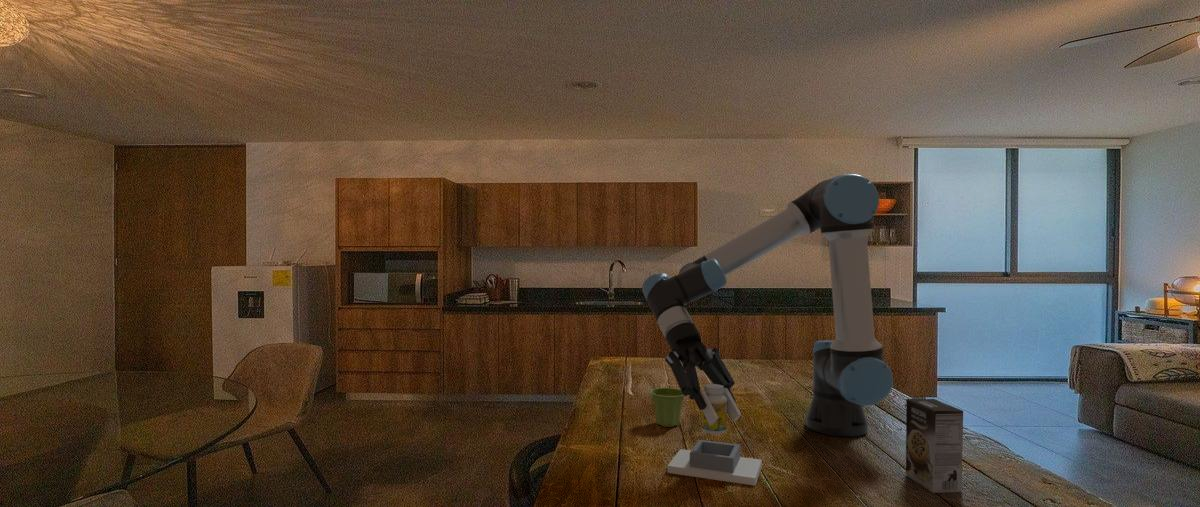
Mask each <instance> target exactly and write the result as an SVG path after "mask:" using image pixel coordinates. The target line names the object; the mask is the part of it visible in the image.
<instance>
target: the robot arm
mask: <svg viewBox="0 0 1200 507" xmlns="http://www.w3.org/2000/svg"><path fill="white" fill-rule="evenodd" d="M879 203H880V195H879V192H878V190H877V187H876V186H875V185H874V183H873V182H872V181H870V180H869V178H867V177H865V176H863V175H859V174H855V173H847V174H845V173H844V174H840V175H836V176H834V177H832V178H829V179H825V180H822V181H821V182H819V183H817V184H816V185H815V184H814V186H812V187H811V188H809V189H808V190H807V191H806V192H804V193H803V194H801V195H799V196H798V197H797V198H795V199H794V200H792V201H790V202H789V203H787V206H786V209H784V210H782V211H780V212H779V213H777V214H775V215H773V216H771V217H769V218H768V219H766V220H764V221H763V222H761V223H759V224H757V225H755V226H754V227H752V228H750V229H748V230H747V231H745V232H743V233H741V234H740V235H738V236H736V237H734V238H733V239H731V240H729V241H727V242H725V243H724V244H722V245H720V246H718V247H717V248H715V249H713V250H711V251H710V252H707V253H706V254H704V255H703V256H702V257H701V256H700V257H698V258H697V259H696V260H694V261H693V262H688V263H686V264H684V265H682V267H681V268H680V269H679V272H678V274H675V275H673V276H671V277H670V276H669V275H668V274H667V273H664V272H659V273H654V274H651V275H649V276H648V277H647V278H645V280H644V281H643V283H642V288H641V290H642V293H643V296H644V298H645V300H646V303H647V304H648V307H649V309H650V310H651V313H652V315H653V317H654V319H655V320H656V322H657V324H658V327H659V329H660V330H661V333H662V334H663V336H664V338H665V341H666V342H667V344H668V346H669V349H670V351H669V352H668V354H667V356H666V357H665V358H664V361H665V362H666V364H668V366H669V367H670V368H671V371H672V373H673V376H674V378H675V380H676V382H677V384H678V387H679V389H680V390H681V391H682V394H683V395H684V397H687V396H689V397H688V398H689V399H690V400H694V403H695V404H696V406H697V408H698V410H700V411H701V412H702V411H703V413H704V415H705V417H706V419H707V421H708V423H709V425H713V424H714V423H715V422H716V421H717V420H718V416H717V414H716V412H715V410H714V408H713V406H712V404H711V402H710V400H709V398H708V396H707V394H706V392H705V391H704V390H702V391H701V386H700V381H699V376H698V373H697V368H698V370H699V371H703V373H704V374H705V375H706V376H707V378H709V380H710V382H712V383H711V384H718V385H722V386H724V393H723V394H722V395H724V396H725V397H726V398H727V415H729V417H730V420H731V421H732V422H733V423H734V422H736V421H737V420H738V419H739V418H740V417H741V416H742V413H741V411H740V409H739V407H738V404H736V402H737V401H736V398H735V396H734V394H733V392H732V390H731V388H732V387H733V386H734V385H735V384H736V382H735V380H734V379H733V377H732V375H731V373H730V372H729V370H728V368H727V367H726V365H725V364H724V362H723V360H722V358H721V356H720V354H719V349H718V347H713V348H712V349H711V348H707V347H706V345H705V344H704V343H703V342H702V336H701V333H700V332H699V329H698V328H697V326H696V324H694V321H693V319H692V317H691V315H690V313H689V311H688V310H687V309H686V305H690V303H692V302H695V301H696V300H699V299H702V298H704V297H706V296H708V295H710V294H711V293H715V292H717V291H718V290H720V289H721V288H724V287H725V286H726V285H727V276H729V275H731V274H732V273H734V272H736V271H737V270H740V269H741V268H743V267H744V266H747V265H748V264H750V263H752V262H754V261H756V260H758V259H759V258H761V257H763V256H764V255H766V254H768V253H769V252H770V253H771V251H774V250H775V249H777V248H779V247H780V246H782V245H784V244H786V243H788V242H789V241H791V240H793V239H795V238H797V237H799V236H801V235H805V236H808V235H810V234H812V233H813V232H815V231H818V230H820V235H822V236H823V237H824V238H825V239H826V240H827V243H828V254H829V255H828V256H829V266H830V267H829V268H830V270H829V271H830V280H831V292H832V293H831V294H832V304H833V318H834V319H833V320H834V332H835V339H834V340H817V341H815V342H814V343H813V349H812V350H813V351H812V399H811V401H810V405H809V407H808V410H807V413H806V414H805V415H806V416H805V426H806V428H808V429H810V431H813V432H816V433H818V434H819V433H820V434H824V435H829V436H834V437H846V438H848V437H849V438H852V437H860V436H861V437H862V436H863V435H867V433H868V432H869V422H868V419H867V416H866V414H865V412H866V411H865V410H864V408H863V407H867V406H869V407H870V406H874V405H877V404H879V403H881V402H883V401H884V399H886V398H887V397H888V395H889V394H890V393H891V391H892V388H893V385H894V377H893V376H894V375H893V372H892V370H891V368H890V367H889V365H888V364H887V363H886V362H885V361H884V348H883V344H882V343H881V342H880V341H878V340H877V338H876V337H875V325H874V312H873V311H874V310H873V301H872V299H873V298H872V287H871V275H870V274H871V273H870V264H869V263H870V262H869V261H870V260H869V249H868V236H870V235H871V233H872V232H873V231H874V220H873V219H874V218H873V217H874V216H875V214H876V213H877V211H878V208H879V205H880V204H879ZM696 367H697V368H696Z"/></svg>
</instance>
